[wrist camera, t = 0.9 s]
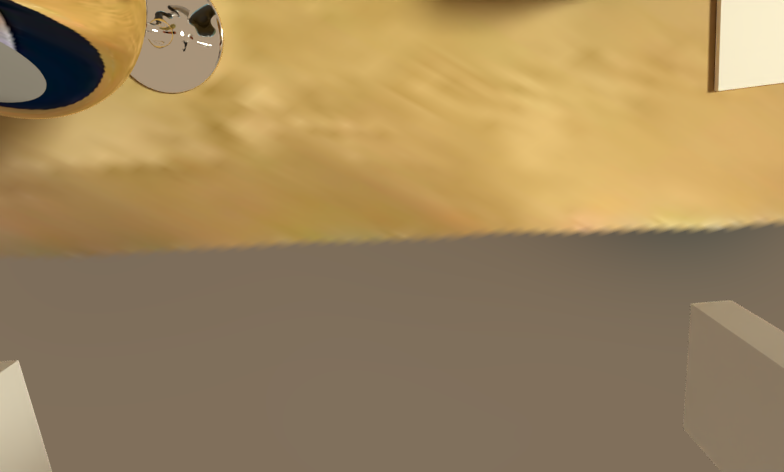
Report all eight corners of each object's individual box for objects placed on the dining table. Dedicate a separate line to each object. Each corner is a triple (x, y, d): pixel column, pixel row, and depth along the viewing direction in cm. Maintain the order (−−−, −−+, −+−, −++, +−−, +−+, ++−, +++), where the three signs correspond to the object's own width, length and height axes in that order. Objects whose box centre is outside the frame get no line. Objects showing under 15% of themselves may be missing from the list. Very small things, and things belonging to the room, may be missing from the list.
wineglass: (261, 82, 31) (93, 66, 13) (134, 128, 31) (-186, 170, 14) (204, -66, 29) (-84, -314, 11) (69, -13, 29) (-400, -171, 12)
